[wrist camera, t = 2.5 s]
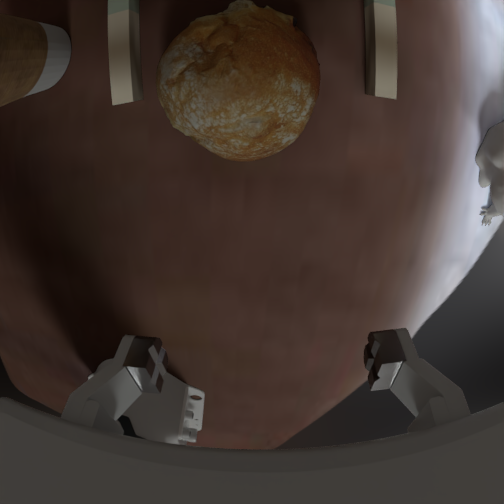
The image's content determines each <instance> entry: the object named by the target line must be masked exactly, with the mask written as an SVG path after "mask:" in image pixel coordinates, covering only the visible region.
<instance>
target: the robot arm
mask: <svg viewBox="0 0 504 504" xmlns="http://www.w3.org/2000/svg"><path fill="white" fill-rule="evenodd" d="M368 342H369V343H368V344H367V345H366V346H365V349H364V364H365V368H366V369H367V370H368V371H369V375H368V381H369V385H370V390H371V391H373V390H382V389H388V388H391V389H390V390H391V391H392V392H393V393H394V394H395V395H396V396H397V397H398V398H399V399H400V400H401V402H402V403H403V404H404V405H405V406H406V407H407V408H408V409H409V410H410V411H411V412H412V413H413V415H414V416H415V417H416V418H415V420H414V421H413V422H412V424H411V425H410V426H409V427H408V433H407V434H402V435H398V436H393V437H388V438H383V439H377V440H372V441H366V442H359V443H352V444H345V445H336V446H327V447H316V448H301V449H275V450H250V449H223V448H209V447H198V446H188V445H186V443H187V441H189V442H196V438H197V431H199V430H201V429H202V419H203V408H204V397H205V393H204V392H203V391H202V390H200V389H198V388H195V387H193V386H190V385H187V384H185V383H183V382H182V381H180V380H179V379H177V378H175V377H174V376H172V375H171V374H169V373H167V372H166V371H167V367H168V356H167V353H166V350H164V349H163V348H162V347H161V346H162V341H161V339H160V338H157V337H145V336H133V335H125V336H124V337H123V338H122V340H121V343H120V345H119V347H118V350H117V352H116V354H115V357H114V358H113V359H108V360H105V361H103V362H102V363H101V364H100V365H99V366H98V368H97V370H96V372H95V373H93V374H90V375H89V376H88V379H89V380H88V381H87V382H85V383H84V384H83V385H81V386H80V387H79V388H78V389H76V390H75V391H74V392H73V393H71V394H70V396H69V399H68V401H67V403H66V406H65V408H64V411H63V413H62V416H61V418H59V417H56V416H53V415H50V414H47V413H45V412H42V411H39V410H37V409H34V408H31V407H29V406H26V405H24V404H21V403H19V402H17V401H15V400H12V399H10V398H6V397H2V398H0V504H504V402H503V403H500V404H498V405H496V406H493V407H491V408H488V409H486V410H483V411H480V412H478V413H475V414H472V415H471V414H470V411H469V408H468V405H467V403H466V400H465V397H464V394H463V392H462V389H460V388H459V387H458V386H457V385H455V384H454V383H453V382H452V381H450V380H449V379H448V378H446V377H445V376H444V375H443V374H441V373H440V372H439V371H438V370H436V369H435V368H434V367H433V366H431V365H430V364H429V363H427V362H426V361H425V360H423V359H419V357H418V354H417V352H416V349H415V347H414V345H413V342H412V339H411V337H410V335H409V332H408V330H407V329H406V328H400V329H394V330H393V329H391V330H383V331H375V332H370V333H369V335H368ZM191 395H198V396H200V397H202V399H199V400H197V399H193V398H191ZM196 419H198V420H196ZM196 424H198V425H196Z"/></svg>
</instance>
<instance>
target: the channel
mask: <svg viewBox="0 0 504 504" xmlns="http://www.w3.org/2000/svg"><path fill="white" fill-rule="evenodd" d="M364 12H365V37H366V89H365V94H367V95H372V96H379V97H386V98H392V99H396V94H397V26H396V9H395V0H364ZM108 49H109V68H110V82H111V94H112V104H113V105H117V104H122V103H127V102H133V101H137V100H142V99H143V87H142V73H141V56H140V29H139V0H108Z"/></svg>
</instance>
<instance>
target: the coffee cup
mask: <svg viewBox="0 0 504 504" xmlns="http://www.w3.org/2000/svg"><path fill="white" fill-rule="evenodd" d="M70 56H71V42H70V38H69V36H68V34H67V33H66V31H65V30H63V29H62V28H60V27H57V26H54V25H50V24H45V23H41V22H37V21H33V20H29V19H25V18H21V17H16V16H11V15H6V14H1V13H0V107H1V106H3V105H6V104H8V103H10V102H13V101H15V100H18V99H20V98H22V97H25V96H28V95H31V94H34V93H37V92H40V91H43V90H46V89H49V88H50V87H52V86H53V85H55V84H56V83H57V82H58V81H59V80H60V78H61V77H62V76H63V74H64V72H65V71H66V69H67V66H68V64H69V60H70Z"/></svg>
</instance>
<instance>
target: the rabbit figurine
mask: <svg viewBox="0 0 504 504" xmlns="http://www.w3.org/2000/svg"><path fill="white" fill-rule="evenodd" d="M476 163H477V165H478V166H479V168H480V175H479V184H480V186H481V187H482V188H485V187H487V186H489V185H490V194H491V199H492V202H493V204H492V205H491V206H490V207H489V208H487V209H486V208H481V209H482V210H483V211H486V212H484V213H481V214H480V215H481V216H482V215H485V216H484V219H483V220H482V225H483V223H485V226H486V224H487V223H489V224H488V226H489V225H490V223H491V219H492V217H495V216H499V215H502V216H503V217H504V120H503V122H502V123H498V124H497V125H496V126H493V127H491V128H490V129H489V130H488V132H487V134H486V137H485V139H484V141H483V143H482V145H481V147H480V149H479V151H478V153H477V155H476ZM485 220H486V221H485Z"/></svg>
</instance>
